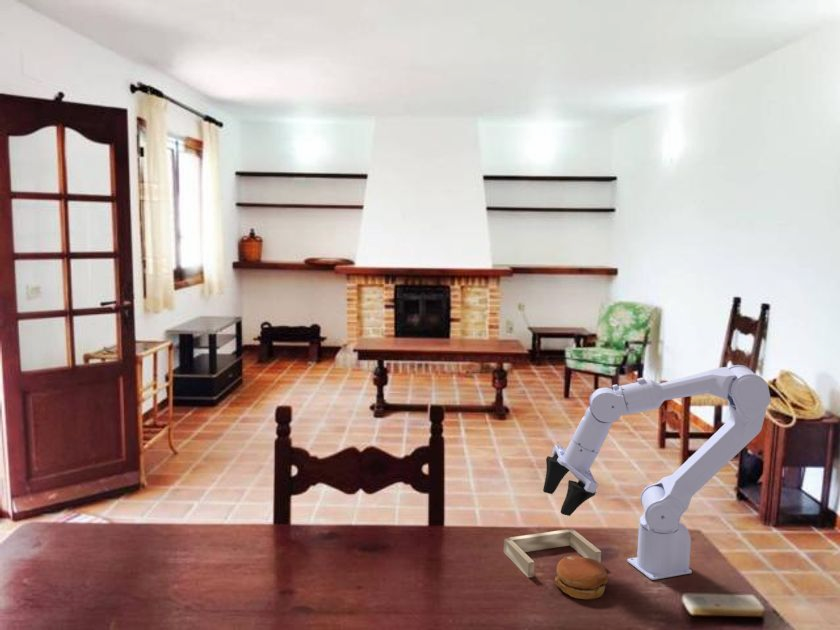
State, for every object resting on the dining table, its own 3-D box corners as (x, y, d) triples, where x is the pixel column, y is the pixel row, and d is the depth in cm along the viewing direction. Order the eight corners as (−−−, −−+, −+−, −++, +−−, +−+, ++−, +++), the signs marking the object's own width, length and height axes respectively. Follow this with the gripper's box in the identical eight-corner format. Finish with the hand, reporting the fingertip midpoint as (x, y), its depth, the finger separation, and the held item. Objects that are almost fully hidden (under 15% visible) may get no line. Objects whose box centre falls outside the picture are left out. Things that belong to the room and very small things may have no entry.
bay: (571, 542, 143) (572, 528, 143) (600, 565, 133) (601, 551, 133) (503, 552, 138) (504, 538, 138) (527, 577, 128) (528, 562, 128)
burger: (589, 607, 119) (590, 582, 118) (544, 587, 125) (545, 563, 125) (616, 586, 126) (618, 563, 125) (573, 569, 132) (574, 546, 132)
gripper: (552, 423, 138) (524, 479, 140) (588, 459, 125) (557, 520, 127) (579, 430, 140) (551, 486, 143) (617, 467, 127) (586, 527, 130)
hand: (556, 503), depth 135 cm, fingers open, 7 cm apart
